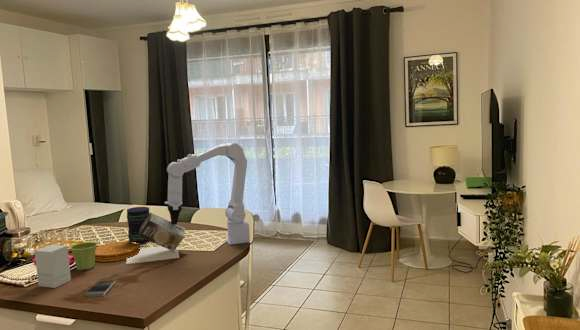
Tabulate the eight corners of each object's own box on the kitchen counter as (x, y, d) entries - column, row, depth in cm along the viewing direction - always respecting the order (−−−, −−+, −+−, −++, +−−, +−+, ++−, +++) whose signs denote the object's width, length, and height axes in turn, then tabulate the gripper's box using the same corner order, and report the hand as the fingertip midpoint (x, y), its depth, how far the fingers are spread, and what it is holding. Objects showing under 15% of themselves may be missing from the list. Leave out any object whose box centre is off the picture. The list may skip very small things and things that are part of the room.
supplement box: (71, 280, 151) (68, 245, 149) (54, 288, 144) (50, 252, 142) (55, 278, 153) (52, 243, 152) (37, 286, 146) (33, 250, 145)
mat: (176, 245, 189) (176, 244, 189) (179, 257, 172) (179, 257, 172) (128, 250, 183) (128, 249, 183) (126, 264, 166) (125, 263, 166)
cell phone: (116, 284, 148) (116, 280, 147) (104, 297, 137) (104, 293, 136) (98, 284, 147) (97, 280, 147) (84, 298, 136) (84, 294, 136)
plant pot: (65, 270, 160) (63, 248, 159) (85, 262, 169) (83, 241, 168) (85, 273, 157) (83, 250, 156) (104, 264, 166) (102, 242, 165)
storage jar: (143, 236, 203) (140, 205, 201) (156, 240, 197) (154, 208, 196) (124, 242, 195) (121, 210, 193) (137, 245, 189) (134, 212, 188)
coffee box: (173, 252, 179) (137, 237, 172) (174, 242, 184) (139, 227, 178) (184, 236, 176) (148, 220, 170) (185, 227, 181) (150, 211, 175)
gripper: (164, 188, 183) (163, 220, 184) (165, 194, 169) (164, 228, 170) (181, 188, 185) (180, 219, 186) (183, 194, 171) (183, 227, 173)
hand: (174, 223), depth 178 cm, fingers closed, pressing on coffee box
